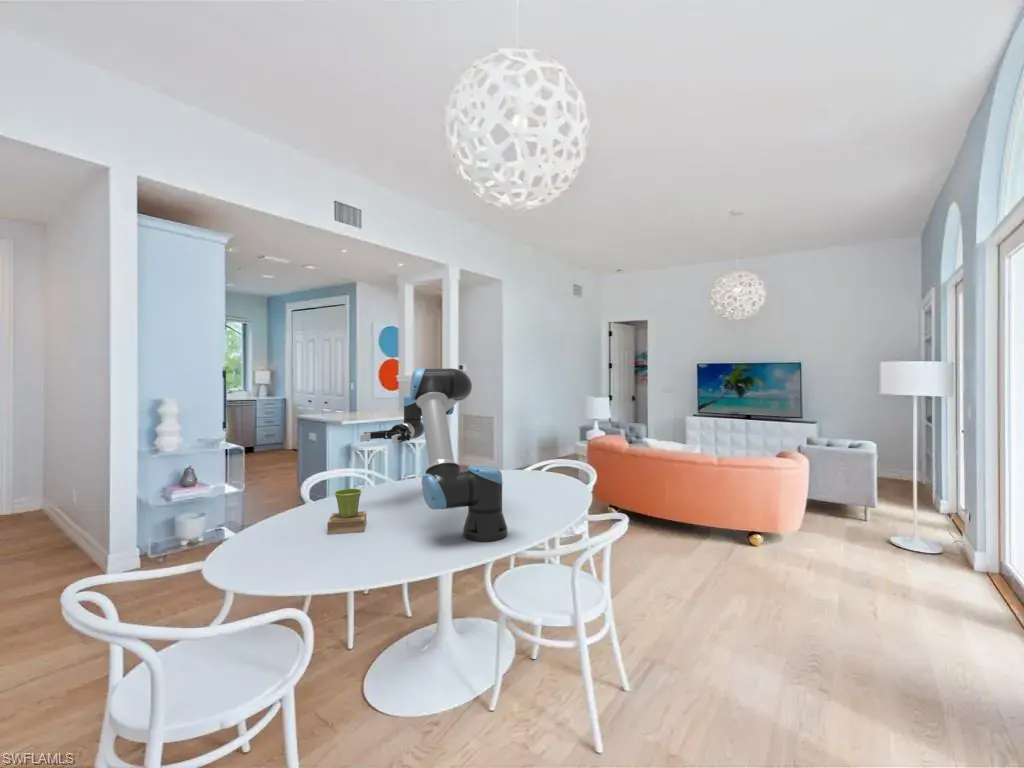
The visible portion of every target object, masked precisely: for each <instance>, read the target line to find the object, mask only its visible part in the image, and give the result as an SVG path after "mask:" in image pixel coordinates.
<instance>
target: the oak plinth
mask: <svg viewBox="0 0 1024 768" xmlns="http://www.w3.org/2000/svg"><path fill="white" fill-rule="evenodd" d="M366 524H367V510H365V511H364V510H363V511H358V513H357V515H356V516H354V517H352V516H350V517H348V518H343V517H340V515H339V512H332V513H331V514H330V517H329V518H328V521H327V524H326V525H327V535H334V534H333V533H340V534H349V533H348V532H355V533H364V532H365V529H366ZM363 531H364V532H363Z"/></svg>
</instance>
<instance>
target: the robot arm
mask: <svg viewBox="0 0 1024 768" xmlns="http://www.w3.org/2000/svg"><path fill="white" fill-rule="evenodd" d="M410 379H411V380H410V389H409V392H410V393H409V394H406V395H404V396H403V423H400V424H395V425H394V426H392V427H391V429H387V430H378V431H377V430H376V431H370V432H369V431H368V432H363V433H361V434H359V438H360V439H359V442H360V443H362V442H363V443H364V442H370V441H371V440H375V439H384V440H391V444H396V443H402V442H404V443H406V442H409V441H410V440H413V439H417V438H420V437H421V436H422V435H423V434H424V438H425V444H426V452H427V454H426V455H427V460H428V465H429V466H428V467H427V468H426V470H425V474H423V475H422V477H421V487H422V488H421V489H422V490H421V491H422V494H423V498H424V501H425V504H426V506H428V508H429V509H431V510H447V509H454V508H455V509H457V508H465V507H468V510H467V511H468V512H467V516H466V518H465V522H464V525H463V528H462V529H463V530H462V536H463V537H464V538H465V539H467V540H470V541H474V542H494V541H499V540H502V539H504V538H506V537H508V525H507V523H506V520H505V516H504V514H503V513H504V512H503V484H504V483H503V475H502V471H501V470H500V469H498V468H497V467H496V468H495V467H492V466H488V465H487V466H485V465H469V466H468V467H467V471H465V470H464V471H461V466H460V465H459V464H458V463H457V462H456V461H455V459H454V452H453V446H452V441H451V435H450V429H449V423H448V417H447V416H450V415H453V413H454V410H455V409H454V408H455V405H456V404H457V403H458V402H459V401H463V400H465V399H466V398H467V397H468V396H470V394H471V393H472V389H473V388H472V387H473V386H472V384H473V383H472V381H471V379H470V377H469V376H468V374H466V373H465V372H464V371H463V370H460V369H457V368H426V367H424V368H416V369H415V370H413V372H412V375H411V378H410Z"/></svg>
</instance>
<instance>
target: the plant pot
mask: <svg viewBox="0 0 1024 768" xmlns="http://www.w3.org/2000/svg"><path fill="white" fill-rule="evenodd" d="M362 492H363V491H362V489H360V488H344V489H338V490H336V491H334V492H333V493H334V495H335V499H336V503H337V508H338V509H337V510H338V513H339V515H340V517H343V518H348V517H350V516H352V517H354V516H356V515H357V513H358V512H359V511H358V510H359V504H360V497H361V493H362Z"/></svg>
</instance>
